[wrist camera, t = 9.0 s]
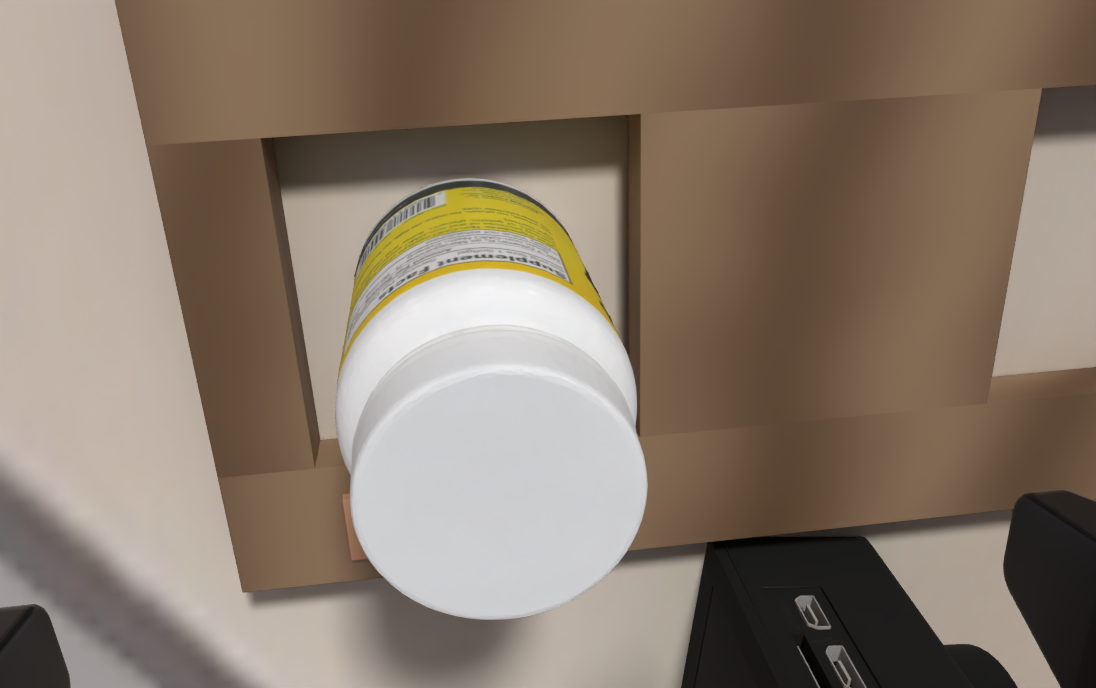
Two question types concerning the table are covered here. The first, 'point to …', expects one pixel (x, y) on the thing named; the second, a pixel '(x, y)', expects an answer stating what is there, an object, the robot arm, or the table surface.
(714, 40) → the jack panel
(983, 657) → the digital camera
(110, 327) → the table surface
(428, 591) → the supplement bottle
